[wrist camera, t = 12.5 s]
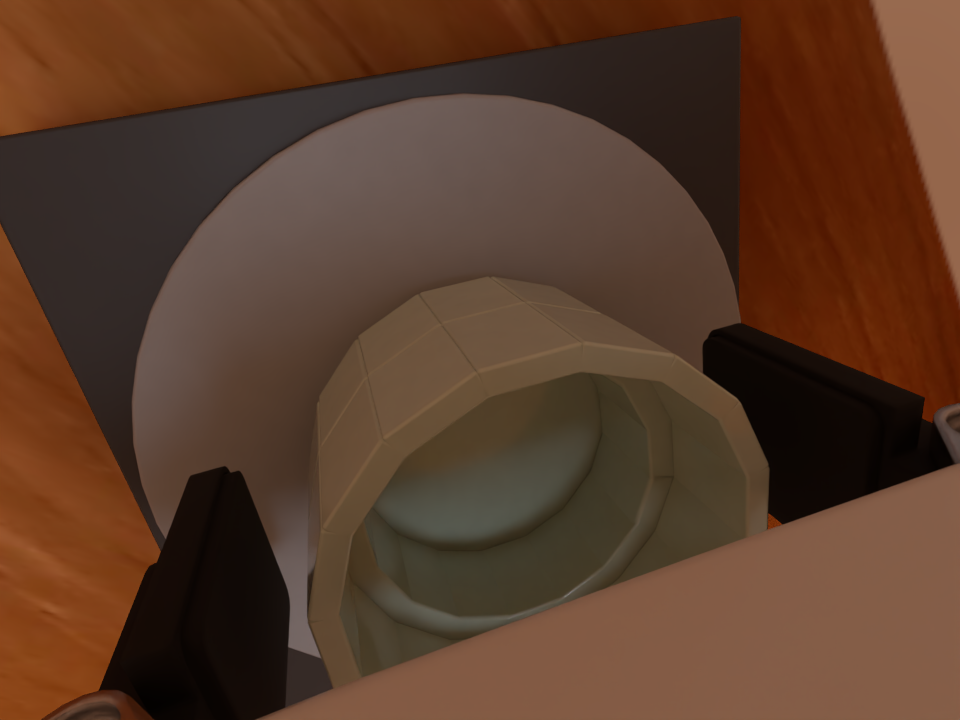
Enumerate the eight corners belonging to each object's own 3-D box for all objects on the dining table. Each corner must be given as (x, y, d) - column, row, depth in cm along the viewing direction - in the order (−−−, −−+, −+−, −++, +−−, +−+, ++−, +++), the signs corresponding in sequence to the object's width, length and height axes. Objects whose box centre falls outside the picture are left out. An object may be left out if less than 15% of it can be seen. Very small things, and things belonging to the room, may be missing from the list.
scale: (659, 40, 14) (771, 5, 11) (678, 512, 20) (756, 589, 16) (41, 144, 12) (-73, 142, 8) (265, 654, 17) (253, 781, 14)
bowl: (611, 239, 11) (777, 289, 7) (632, 512, 14) (764, 661, 10) (264, 321, 10) (234, 436, 6) (359, 605, 13) (382, 819, 9)
